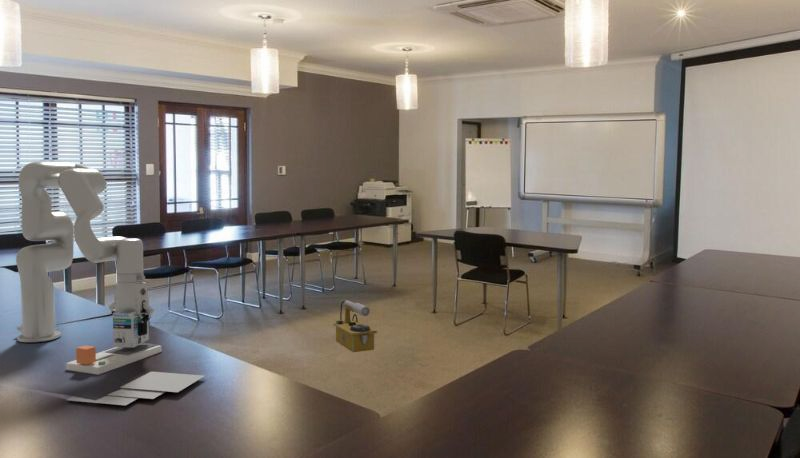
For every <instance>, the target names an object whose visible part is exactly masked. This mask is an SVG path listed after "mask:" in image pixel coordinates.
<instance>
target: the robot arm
mask: <svg viewBox="0 0 800 458" xmlns="http://www.w3.org/2000/svg"><path fill="white" fill-rule="evenodd" d="M18 186H19V191H20V195H21V232H22V235H23V238H25V240H28V241H31V242H42V241H43V242H44V241H50V243H42V244H40V243H39V244H33V245H28V246H25V247H23V248H21V249H20V250H19V251H18V252H17V253H16V258H15V261H16V262H15V263H16V266H17V270H18V275H19V281H20V295H21V299H20V300H21V320H22V323H21V324H20V326H17V327H16V330H17V331H20V334H19V335H18V336H17V337H16V338H17V342H20V343H40V342H42V343H43V342H48V341H53V340H55V339H58V338H60V337H61V335H62V333H61V331H59V330H56V311H55V308H56V307H55V306H56V305H55V304H56V303H55V286H54V282H53V280H52V279H51V277H50V276H49V274H48V273H50V272H57V271H62V270H66V269H68V268H70V267H71V265H72V263H73V260H74V244H76V245H77V247H78V249H79V251H80V252H81V254H82V256H84V258H85V259H86V260H88V261H89V262H91V263H95V264H97V263H103V262H104V263H105V262H111V261H113V262H114V261H116V277H117V278H116V284H115V289H114V290H115V291H114V301H113V302H112V303H111V304H109V306H108V308H109V310H110V312H111V315H112V316H113V313H114V312H117V311H119V310H123V311H131V312H136V313H137V315H138V320H139V322H140V323H138V335H139V336H142V335H145V334H147V322H148V321H149V322H150V319H151V318H152V315H153V313H154V312H155V310H154V308H153V307H152V306H150V299H149V298H150V297H149V291H148V287H147V283H146V282H145V279H146V276H145V275H144V243H143V241H142V239H140V238H138V237H137V238H136V237H135V238H133V237H130V238H129V237H125V236H117V235H116V236H115V235H114V236H105V237H104V236H103V237H96V234H95V233H94V231H93V229H92V227H91V221H92V220H93V219H96V218H97V217H98V216H99V215H101V214H102V213H103V211H104V208H105V207H104V203H103V201H102V200H101V198H100V196H99V194H101V193H103V192H104V191H105V189H106V186H107V184H106V178H105V177H104V175H103V173H102V172H101V171H100V170H97V169H95V168H92V167H88V166H84V165H81V164H77V163H72V162H59V161H58V162H57V161H56V162H55V161H34V162H30V163H27V164H25V165H24V166H23V167H22V168H21V169H20V172H19V174H18ZM47 188H48V189H50V188H51V189H54V188H55V189H61V191H62V193H63V196H65V198H66V200H67V202H68V203H69V205H70V207H71V210H72V211H73V213H74V214H75V216H76V217H75V218H76V219H75V221H74V224H73V220H72V218H71V217H70V216H69V215H68V214H67V213H65V212H63V211H52V198H51V196H50V193H49V192H48V191H47V190H46V189H47ZM74 241H75V243H74ZM140 311H141V313H140ZM141 315H142V316H143V318H142V317H141Z"/></svg>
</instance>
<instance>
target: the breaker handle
mask: <svg viewBox="0 0 800 458" xmlns="http://www.w3.org/2000/svg"><path fill="white" fill-rule="evenodd" d="M75 351H76V352H75V357H76V359H75V360H76V362H77V363H79V364H86V365H88V364H91V363H94V362H96V353H97V352H96V346H92V345H87V344H86V345H85V344H84V345H81V346H78V347H76V348H75Z"/></svg>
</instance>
